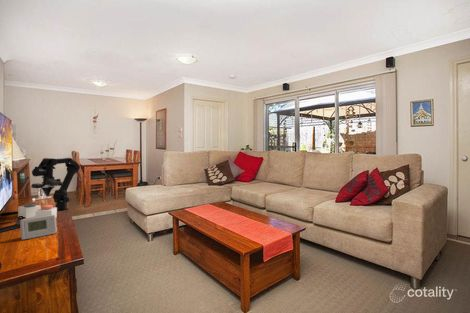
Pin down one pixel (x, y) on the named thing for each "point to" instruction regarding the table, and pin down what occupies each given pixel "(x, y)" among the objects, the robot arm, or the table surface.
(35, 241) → the table surface
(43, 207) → the red plug
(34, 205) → the plug
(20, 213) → the socket
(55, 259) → the table surface
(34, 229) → the digital clock
